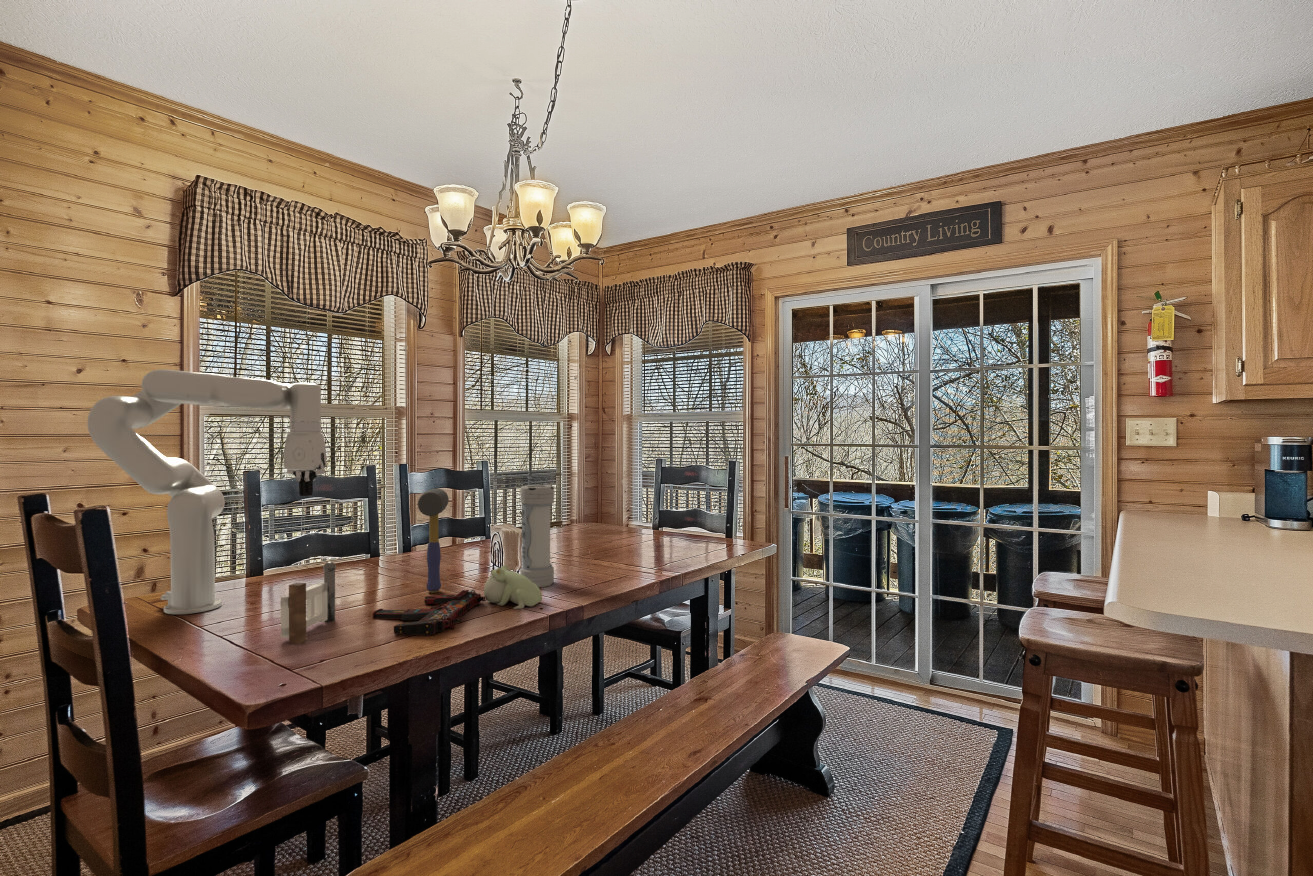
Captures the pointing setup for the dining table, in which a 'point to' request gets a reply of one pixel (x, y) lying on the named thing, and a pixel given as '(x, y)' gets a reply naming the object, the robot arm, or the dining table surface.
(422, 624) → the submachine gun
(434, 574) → the rubber mallet
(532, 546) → the canister
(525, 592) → the figurine
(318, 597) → the gate
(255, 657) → the dining table surface
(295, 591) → the post
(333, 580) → the hinge post
